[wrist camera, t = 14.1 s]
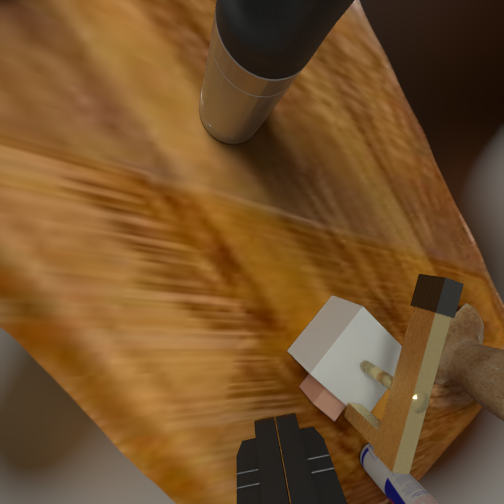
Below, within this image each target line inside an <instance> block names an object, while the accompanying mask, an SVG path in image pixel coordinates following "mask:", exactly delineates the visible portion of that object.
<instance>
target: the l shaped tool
mask: <svg viewBox="0 0 504 504" xmlns="http://www.w3.org/2000/svg"><path fill="white" fill-rule="evenodd" d="M462 288H463V284H462V283H459V282H456V281H454V280H451V279H448V278H444V277H437V276H430V275H424V274H419V276H418V280H417V283H416V287H415V291H414V294H413V298H412V301H411V306H413V308H412V312H411V315H410V319H409V323H408V326H407V330H406V334H405V337H404V341H403V345H402V348H401V352H400V356H399V359H398V363H397V366H396V370H395V374H394V377H393V376H391V375H390V374H388V373H387V372H385V371H384V370H382V369H380V368H379V367H377V366H376V365H374V364H373V363H371V362H369V361H367V360H365V361H363V362H362V364H361V369H362V370H363V371H364V372H365V373H367V374H368V375H370V376H371V377H372V378H374V379H375V380H377V381H378V382H379V383H381V384H382V385H384V386H385V387H386V388H388V389H389V390H390V392H389V396H388V399H387V403H386V407H385V410H384V414H383V417H382V421H380V420H379V419H378V418H376V417H375V416H374V415H373V414H372V413H371V412H370V411H369V410H368V409H366V408H365V407H364V406H363V405H361V404H355V403H348V405H347V409H346V413H345V418H346V419H347V420H348V421H349V422H350V423H351V424H352V425H353V426H354V427H355V428H356V429H357V430H358V431H359V432H360V433H361V434H362V436H363V437H364V438H365V439H366V440H367V441H368V442H369V443H370V444H371V445H372V446H373V447H374V450H373V453H374V454H375V455H376V456H377V457H378V458H379V459H380V460H381V461H382V462H383V463H384V464H385V466H386V467H387V468H388V469H389V470H390V471H391V472H392V473H401V474H409V473H410V469H411V465H412V462H413V458H414V454H415V450H416V447H417V443H418V439H419V436H420V432H421V428H422V424H423V421H424V417H425V413H426V410H427V408H428V405H429V399H430V395H431V391H432V387H433V384H434V380H435V376H436V373H437V369H438V365H439V361H440V358H441V354H442V350H443V347H444V343H445V339H446V335H447V332H448V328H449V324H450V321H451V317H452V318H455V314H456V310H457V307H458V303H459V299H460V295H461V292H462Z"/></svg>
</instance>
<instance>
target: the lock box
mask: <svg viewBox="0 0 504 504" xmlns="http://www.w3.org/2000/svg"><path fill="white" fill-rule="evenodd" d="M401 348H402V346H401V345H400V344H399V343H398V342H397V341H396V340H395V339H394V338H393V337H392V336H391V335H390V333H389V332H388V331H387V330H386V329H385V328H384V327H383V326H382V325H381V324H380V323H379V322H378V321H377V320H376V319H375V318H374V317H373V316H372V315H371V314H370V313H369V312H368V311H367V310H366V309H365V308H364V307H363V306H361V305H358V304H355V303H353V302H350V301H347V300H344V299H342V298H339V297H336V296H333V295H332V296H331V297H330V298H329V300H328V301H327V302H326V303H325V305H324V306H323V307H322V308H321V310H320V311H319V312H318V313H317V314H316V316H315V317H314V318H313V319H312V321H311V322H310V323H309V324H308V326H307V327H306V328H305V329H304V331H303V332H302V333H301V334H300V335H299V337H298V338H297V339H296V340H295V342H294V343H293V344H292V345H291V347H290V348H289V349H288V350H287V351H288V352H289V353H290V354H291V355H292V356H293V357H294V358H295V359H296V360H297V361H298V362H299V363H300V364H301V365H302V366H303V367H304V368H305V369H306V370H307V371H308V372H309V373H310V374H311V375H312V376H313V377H314V378H315V379H316V380H318V381H319V382H320V383H321V384H322V385H323V386H324V387H326V388H327V389H328V390H329V391H330V392H331V393H332V394H334V395H335V396H336V397H337V398H338V399H339V400H340V401H342V402H343V403H344V404H345V405H346V406H347V405H348V403H355V404H361V405H363V406H364V407H365V408H366V409H368V410H369V411H370V412H371V411H372V409H373V408H374V406H375V405H376V404H377V402H378V401H379V400H380V398H381V397H382V395H383V394H384V393H385V391H386V390H387V389H388V388H386V387H385V386H384V385H382V384H381V383H379V382H378V381H377V380H375V379H374V378H372V377H371V376H370V375H368V374H367V373H365V372H364V371H363V370H362V369H361V364H362V362H363V361H365V360H367V361H369V362H371V363H373V364H374V365H376V366H377V367H379V368H380V369H382V370H384V371H385V372H387V373H388V374H390V375H391V376H393V377H394V374H395V370H396V366H397V363H398V359H399V356H400V352H401Z"/></svg>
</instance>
